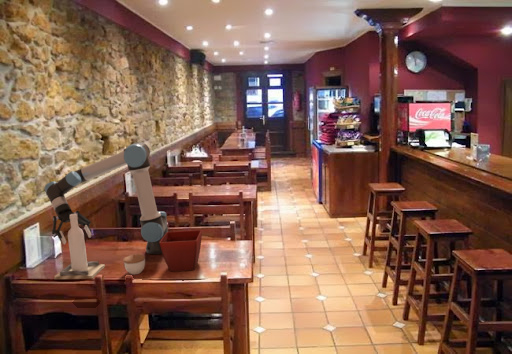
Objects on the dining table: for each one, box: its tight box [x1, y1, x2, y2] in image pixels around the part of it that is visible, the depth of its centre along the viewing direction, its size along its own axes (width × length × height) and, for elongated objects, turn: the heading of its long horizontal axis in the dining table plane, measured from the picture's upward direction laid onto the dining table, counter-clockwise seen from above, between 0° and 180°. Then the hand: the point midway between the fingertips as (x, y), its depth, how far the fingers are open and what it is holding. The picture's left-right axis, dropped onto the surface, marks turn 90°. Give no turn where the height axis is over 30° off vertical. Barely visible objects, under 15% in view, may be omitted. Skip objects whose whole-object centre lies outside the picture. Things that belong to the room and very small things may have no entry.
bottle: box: [67, 214, 88, 271], centre depth 248 cm, size 8×8×30 cm
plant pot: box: [159, 229, 203, 272], centre depth 249 cm, size 19×19×17 cm
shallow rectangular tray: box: [53, 261, 106, 280], centre depth 250 cm, size 20×16×4 cm
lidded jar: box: [122, 254, 146, 275], centre depth 246 cm, size 11×11×9 cm
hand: (78, 239), depth 245 cm, fingers open, 13 cm apart
